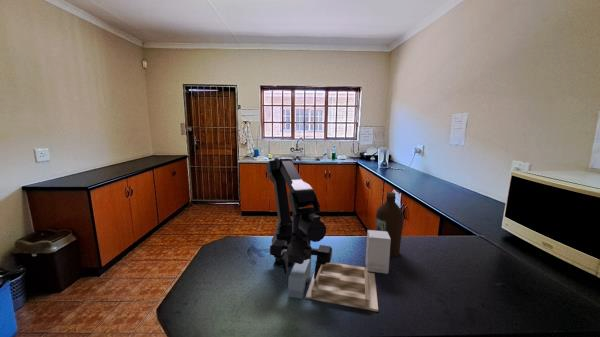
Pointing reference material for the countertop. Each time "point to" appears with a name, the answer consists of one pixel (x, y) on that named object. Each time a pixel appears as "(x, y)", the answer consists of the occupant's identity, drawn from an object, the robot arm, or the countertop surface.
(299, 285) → the grey rectangular block
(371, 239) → the supplement box
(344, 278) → the divided wooden tray
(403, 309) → the countertop surface
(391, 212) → the olive oil
